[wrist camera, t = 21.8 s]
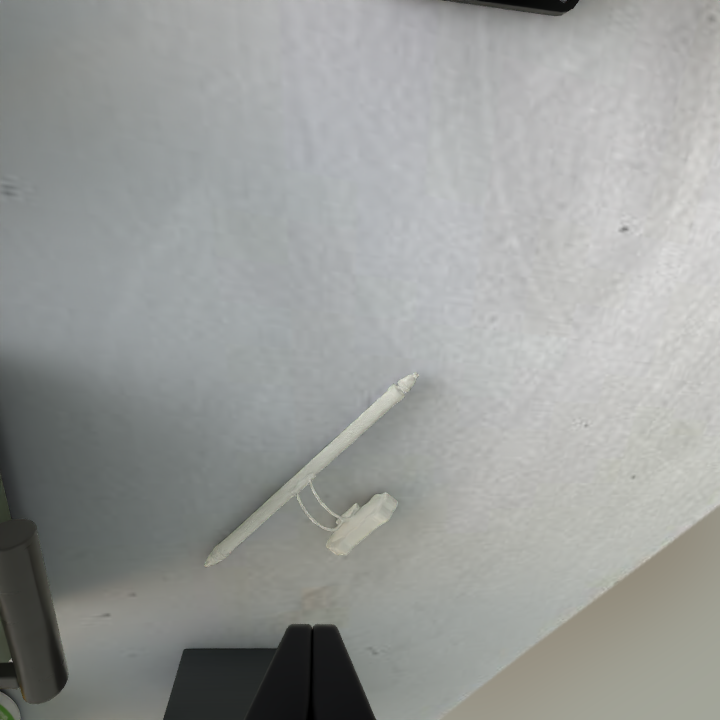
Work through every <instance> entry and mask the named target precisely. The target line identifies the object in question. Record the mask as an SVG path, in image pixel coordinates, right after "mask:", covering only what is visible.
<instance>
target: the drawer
mask: <svg viewBox="0 0 720 720" xmlns="http://www.w3.org/2000/svg"><path fill="white" fill-rule="evenodd" d="M11 658H12V661H13V662H9V661H10V659H11ZM68 676H69V673H68V668H67V664H66V659H65V655H64V650H63V646H62V641H61V637H60V632H59V627H58V623H57V618H56V614H55V609H54V605H53V600H52V596H51V591H50V587H49V582H48V578H47V573H46V568H45V564H44V559H43V555H42V550H41V546H40V541H39V537H38V532H37V528H36V525H35V523H34V522H32V521H31V520H28V519H11V515H10V511H9V507H8V503H7V499H6V494H5V490H4V486H3V482H2V478H1V474H0V689H18V688H20V689H21V693H22V696H23V699H24V700H25V701H26V702H28V703H30V704H40V703H44V702H46V701H49V700H50V699H52V698H54V697H55V696H56V695H57V694H59V693H60V692H61V690H62V689H63V688H64V686H65V685H66V683H67V680H68Z"/></svg>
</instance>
